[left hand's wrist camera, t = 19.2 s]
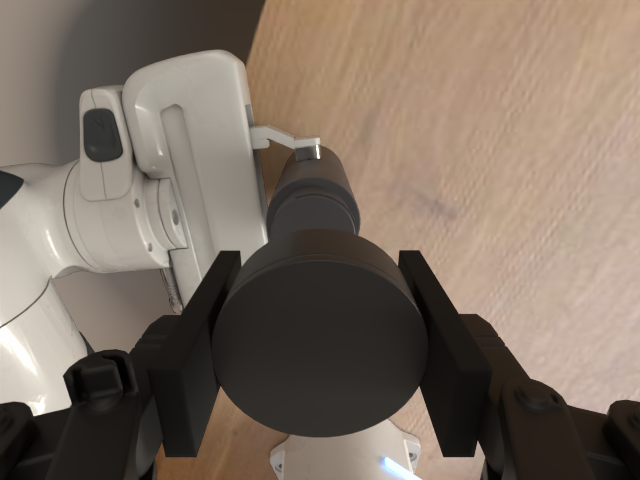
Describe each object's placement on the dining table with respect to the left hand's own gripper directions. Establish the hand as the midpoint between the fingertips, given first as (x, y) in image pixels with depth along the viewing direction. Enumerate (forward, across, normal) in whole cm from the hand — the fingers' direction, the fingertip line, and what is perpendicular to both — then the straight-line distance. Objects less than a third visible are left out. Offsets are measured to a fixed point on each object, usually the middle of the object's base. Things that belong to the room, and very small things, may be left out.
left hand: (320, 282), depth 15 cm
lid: (-4, 0, 0) cm, 4 cm away
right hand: (+14, 0, 0) cm, 14 cm away
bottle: (+21, 0, 0) cm, 21 cm away
